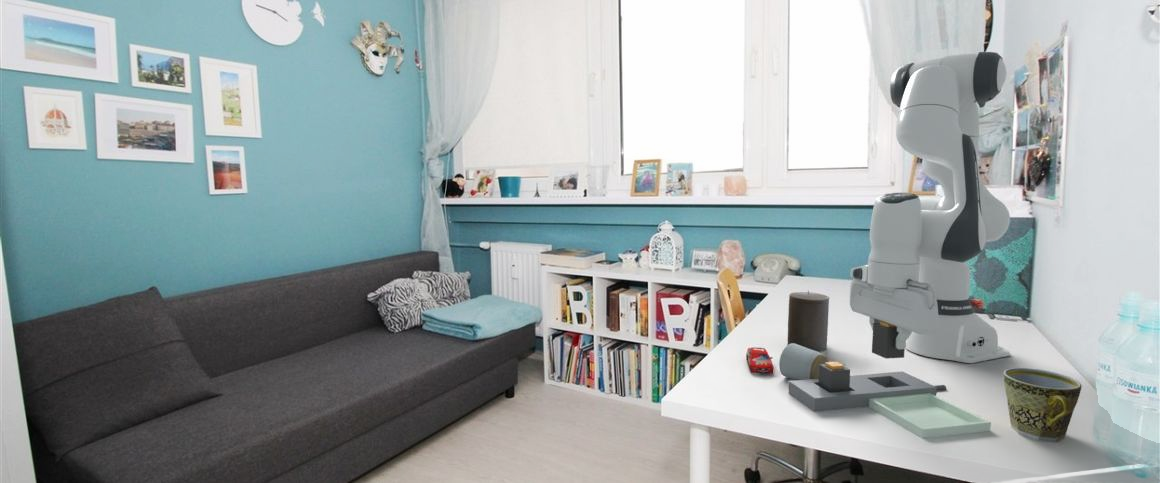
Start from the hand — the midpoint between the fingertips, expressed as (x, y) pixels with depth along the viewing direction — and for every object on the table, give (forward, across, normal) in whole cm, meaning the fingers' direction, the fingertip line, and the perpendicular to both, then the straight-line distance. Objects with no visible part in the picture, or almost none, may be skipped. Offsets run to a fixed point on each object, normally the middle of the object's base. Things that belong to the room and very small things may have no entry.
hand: (888, 344), depth 108 cm
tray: (+11, -11, 0) cm, 15 cm away
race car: (+12, +22, +16) cm, 30 cm away
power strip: (+11, 0, +2) cm, 11 cm away
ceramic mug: (+11, +12, +10) cm, 19 cm away
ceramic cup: (+11, -21, -13) cm, 27 cm away
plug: (+2, 0, 0) cm, 2 cm away
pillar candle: (+11, +33, -4) cm, 35 cm away
